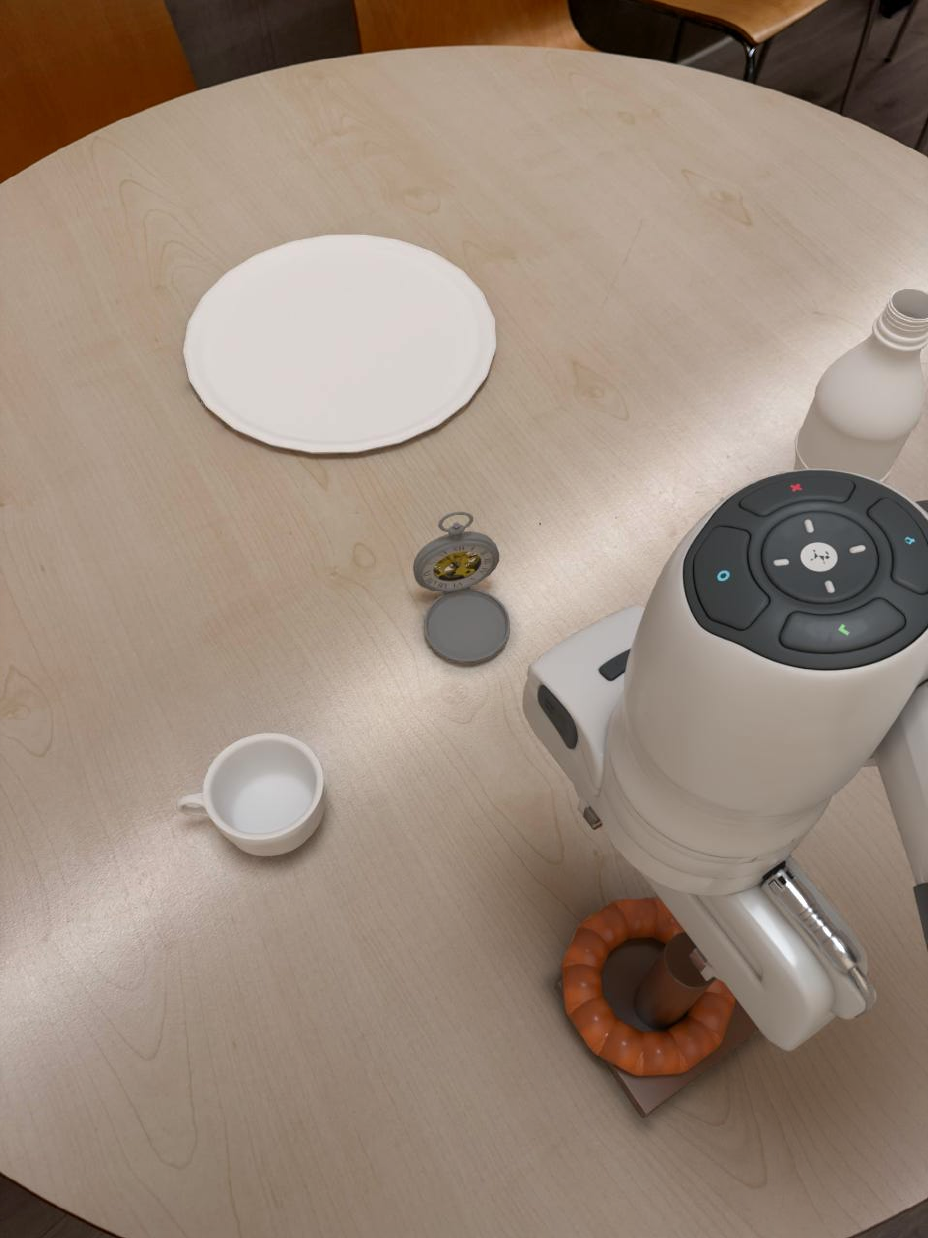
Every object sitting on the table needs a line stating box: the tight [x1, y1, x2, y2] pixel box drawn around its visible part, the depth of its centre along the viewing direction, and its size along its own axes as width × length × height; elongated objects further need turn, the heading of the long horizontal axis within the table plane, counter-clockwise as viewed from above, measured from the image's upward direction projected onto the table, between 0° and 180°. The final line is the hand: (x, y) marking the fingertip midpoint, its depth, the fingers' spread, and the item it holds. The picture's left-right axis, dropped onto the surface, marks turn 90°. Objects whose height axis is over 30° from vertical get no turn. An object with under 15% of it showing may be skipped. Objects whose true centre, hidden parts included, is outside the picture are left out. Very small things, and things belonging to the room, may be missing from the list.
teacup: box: [175, 732, 325, 857], centre depth 69 cm, size 10×8×5 cm
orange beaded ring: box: [560, 897, 735, 1076], centre depth 63 cm, size 10×10×2 cm
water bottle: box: [793, 287, 928, 484], centre depth 74 cm, size 7×7×25 cm
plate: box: [182, 233, 497, 455], centre depth 96 cm, size 29×29×1 cm
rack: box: [554, 932, 759, 1119], centre depth 59 cm, size 9×9×12 cm
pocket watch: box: [412, 511, 511, 665], centre depth 76 cm, size 8×8×10 cm
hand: (651, 884), depth 54 cm, fingers open, 8 cm apart
